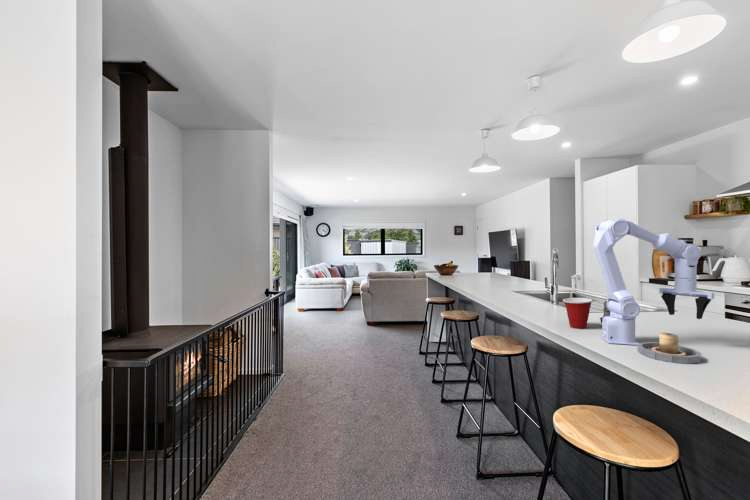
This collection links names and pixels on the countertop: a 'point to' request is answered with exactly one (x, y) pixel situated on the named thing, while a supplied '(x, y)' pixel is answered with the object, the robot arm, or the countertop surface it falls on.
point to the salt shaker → (605, 311)
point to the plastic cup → (578, 311)
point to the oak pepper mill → (668, 343)
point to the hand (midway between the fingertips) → (685, 316)
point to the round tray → (683, 355)
